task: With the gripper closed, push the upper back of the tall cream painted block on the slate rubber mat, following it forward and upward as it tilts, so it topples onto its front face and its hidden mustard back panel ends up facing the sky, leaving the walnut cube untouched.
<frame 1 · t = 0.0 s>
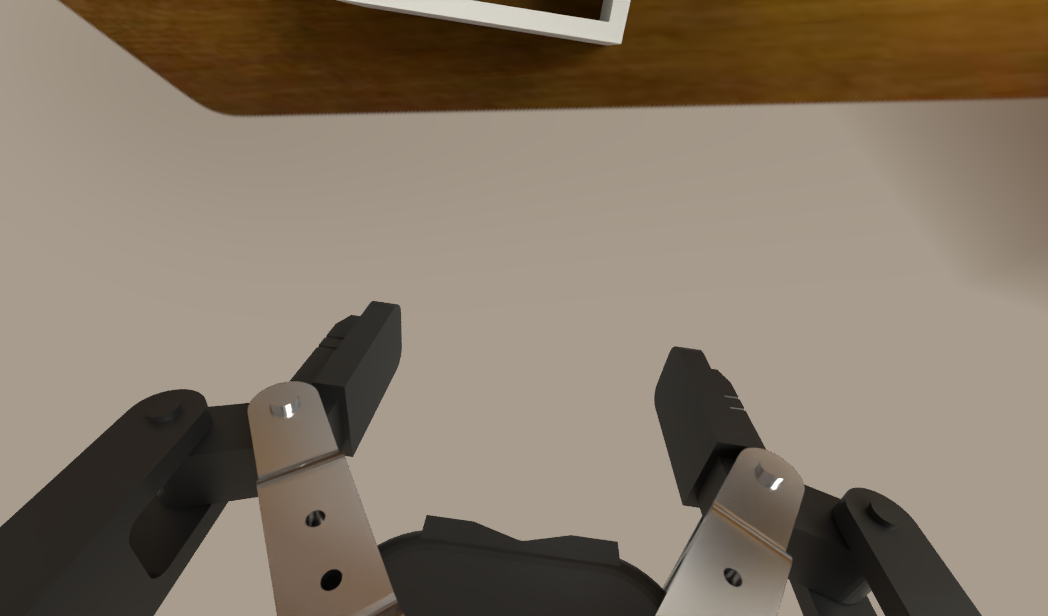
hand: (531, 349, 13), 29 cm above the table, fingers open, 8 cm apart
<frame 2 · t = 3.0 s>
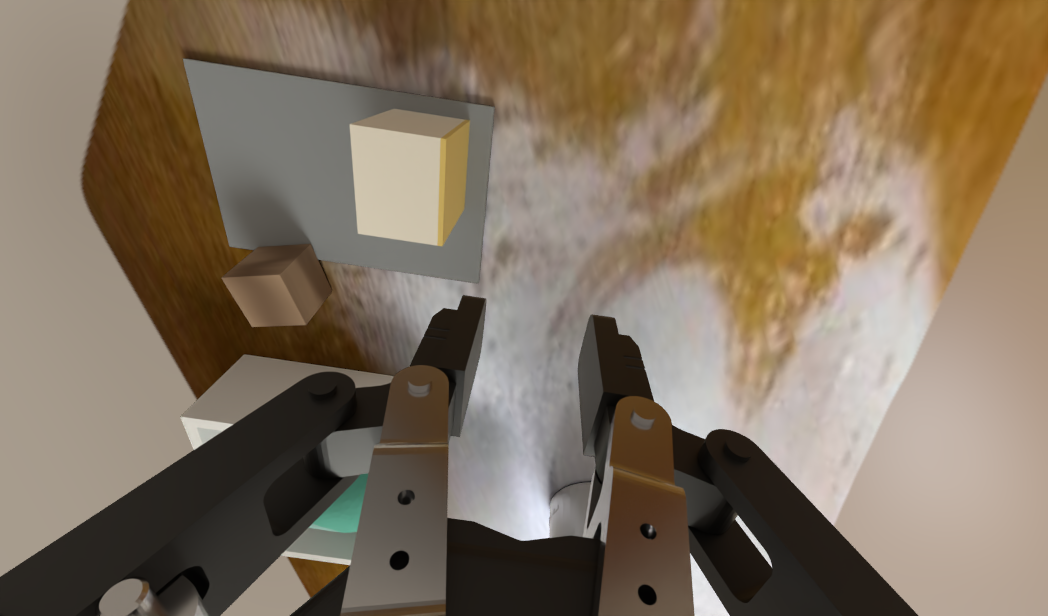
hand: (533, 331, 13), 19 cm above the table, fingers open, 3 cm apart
mat: (350, 182, 31), on the table
walnut cube: (296, 269, 35), on the table, tilted 6°, touching mat
toy caddy: (352, 437, 45), on the table
cream block: (431, 161, 29), resting on mat
toy: (360, 441, 46), on the table
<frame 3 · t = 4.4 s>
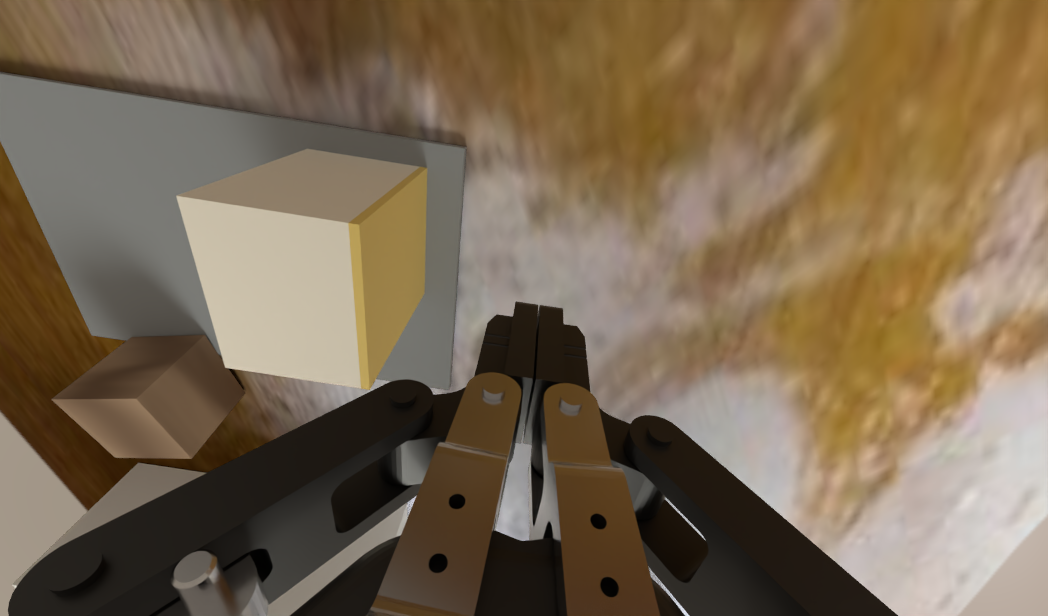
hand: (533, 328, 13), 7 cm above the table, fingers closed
mat: (253, 253, 21), on the table
walnut cube: (190, 366, 24), on the table, tilted 6°, touching mat
toy caddy: (292, 556, 35), on the table
cream block: (370, 226, 19), resting on mat
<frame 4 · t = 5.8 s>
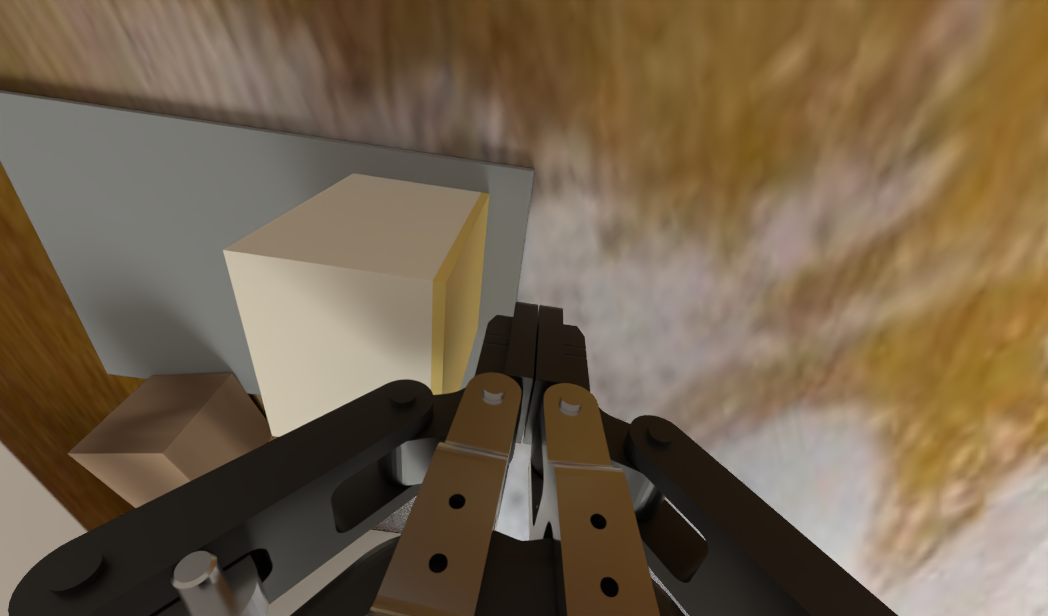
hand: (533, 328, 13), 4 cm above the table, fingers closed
mat: (287, 286, 19), on the table
walnut cube: (215, 404, 22), on the table, tilted 6°, touching mat
toy caddy: (319, 591, 33), on the table
cream block: (421, 258, 17), resting on mat, touching gripper
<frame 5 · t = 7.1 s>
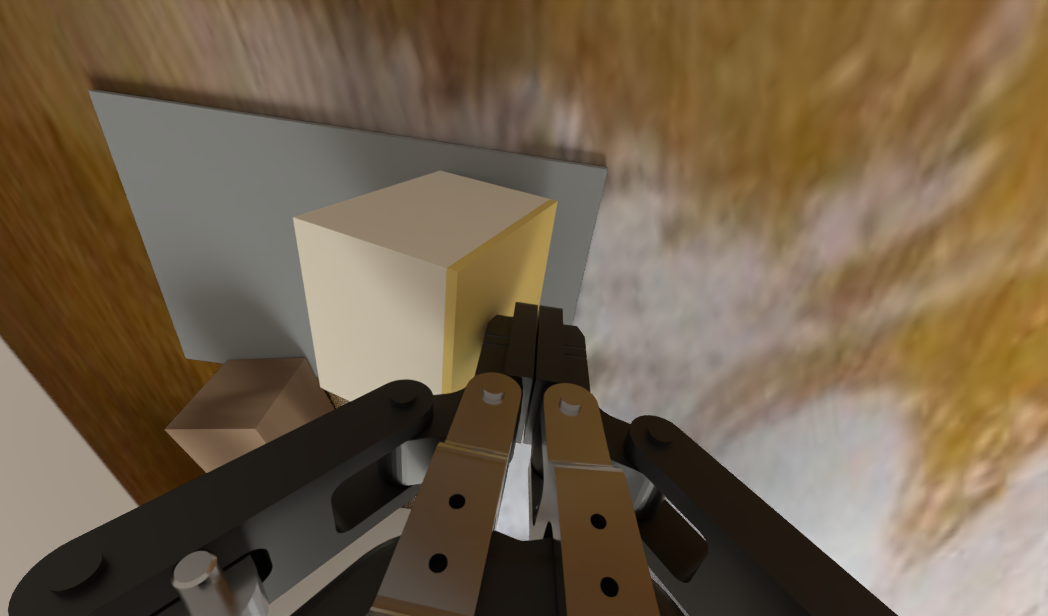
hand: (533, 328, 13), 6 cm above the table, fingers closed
mat: (365, 275, 20), on the table
walnut cube: (284, 388, 24), on the table, tilted 6°, touching mat
toy caddy: (362, 572, 34), on the table
cream block: (489, 256, 18), point 1 cm above the table, tilted 20°, touching gripper, mat
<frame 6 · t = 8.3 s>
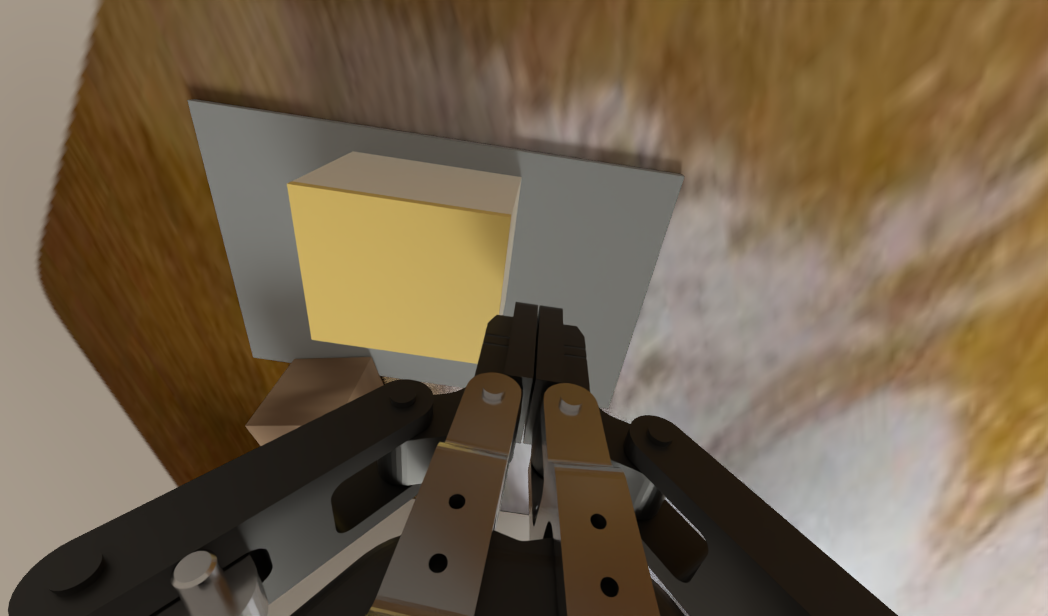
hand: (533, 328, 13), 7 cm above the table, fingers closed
mat: (436, 277, 21), on the table
walnut cube: (346, 386, 24), on the table, tilted 6°, touching mat
toy caddy: (404, 567, 35), on the table
cream block: (507, 268, 17), point 3 cm above the table, tilted 90°, touching mat
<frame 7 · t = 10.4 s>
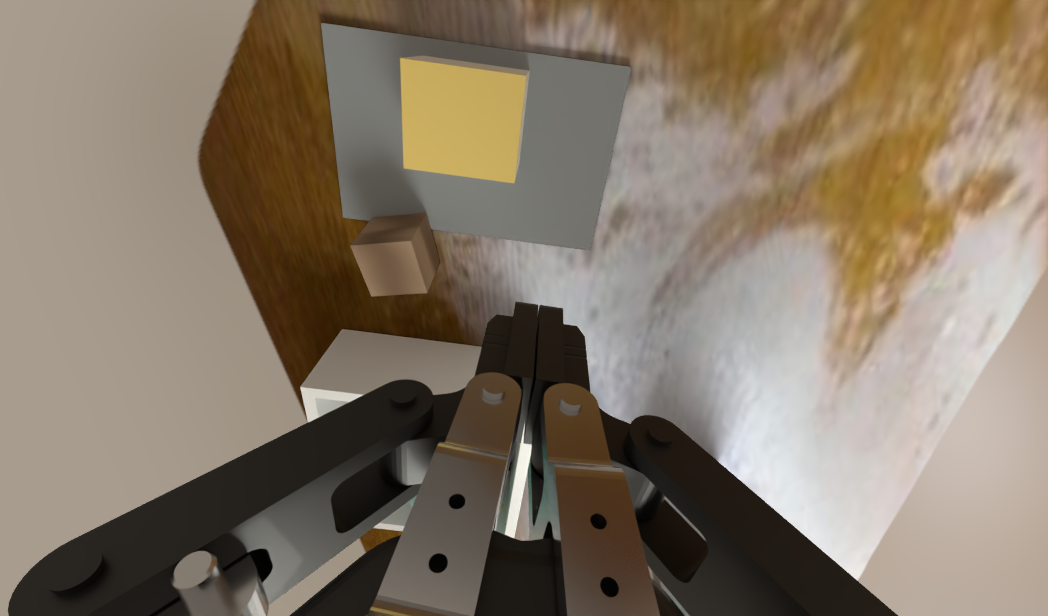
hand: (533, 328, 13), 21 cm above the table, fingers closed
mat: (472, 149, 31), on the table
walnut cube: (407, 240, 35), on the table, tilted 6°, touching mat
toy caddy: (440, 411, 46), on the table
cream block: (522, 125, 27), point 3 cm above the table, tilted 90°, touching mat
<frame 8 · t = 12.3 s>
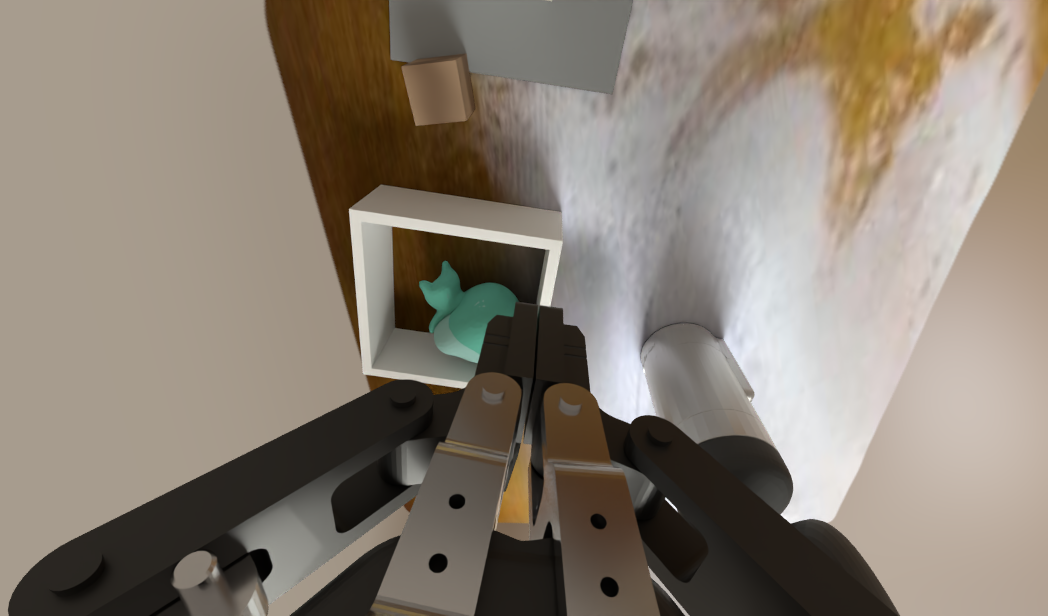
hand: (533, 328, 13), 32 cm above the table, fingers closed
walnut cube: (446, 84, 38), on the table, tilted 6°, touching mat
toy caddy: (466, 278, 49), on the table
toy: (484, 299, 51), on the table
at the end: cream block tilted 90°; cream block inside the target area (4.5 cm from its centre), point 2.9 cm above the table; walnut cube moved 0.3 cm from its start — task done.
